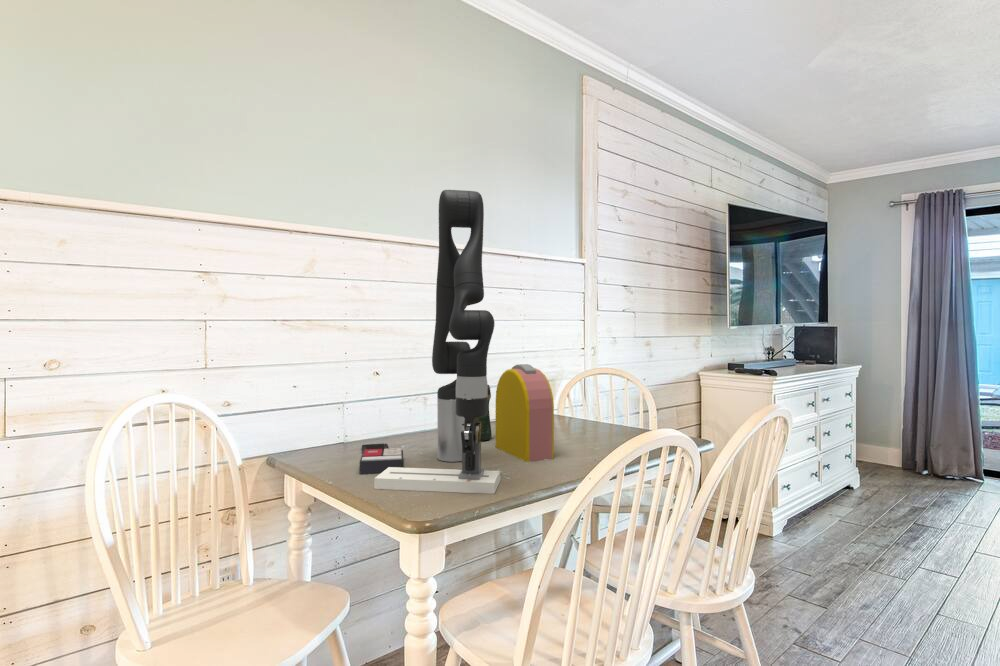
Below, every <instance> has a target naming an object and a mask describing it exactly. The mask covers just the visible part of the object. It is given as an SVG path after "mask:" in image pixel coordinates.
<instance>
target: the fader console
mask: <svg viewBox="0 0 1000 666" xmlns="http://www.w3.org/2000/svg"><path fill="white" fill-rule="evenodd" d="M461 471H462V469H454V468H453V469H451V468H450V469H449V468H448V469H447V468H423V467H422V468H421V467H403V468H400V467H388V468H387V469H386V470H384V471H383V472H382V473H381V474H377V476H375V477H374V479H373V480H374V483H373V484H374V490H390V491H392V490H394V491H413V492H414V491H415V492H416V491H419V492H437V493H438V492H439V493H440V492H441V493H442V492H443V493H460V494H461V493H465V494H484V495H485V494H489V495H495V493H496V492H497V488H498V486H499V484H500V482H501V471H500V470H484V473H483V475H482V477H481V478H480V480H479V479H458V475H459V474H460V472H461Z"/></svg>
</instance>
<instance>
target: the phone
mask: <svg viewBox="0 0 1000 666" xmlns="http://www.w3.org/2000/svg"><path fill="white" fill-rule="evenodd" d="M366 449H382V451H384V449H390V448H389V444H388V443H371V444H370V443H369V444H362V445H361V451H362V452H361V453H362V454H363V452H364V451H365V450H366Z"/></svg>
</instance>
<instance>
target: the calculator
mask: <svg viewBox="0 0 1000 666" xmlns="http://www.w3.org/2000/svg"><path fill="white" fill-rule="evenodd" d="M388 467H400V468H404V449H402V448H401V447H397V448H395V447H394V448H389V449H384V451H382V449H366V450H365V451H364V452H363V454H362V455H361V457H360V460H359V475H361V476H362V475H375V474H376V475H379V474H381V473H382V472H383V471H384V470H386V469H387V468H388Z"/></svg>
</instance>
